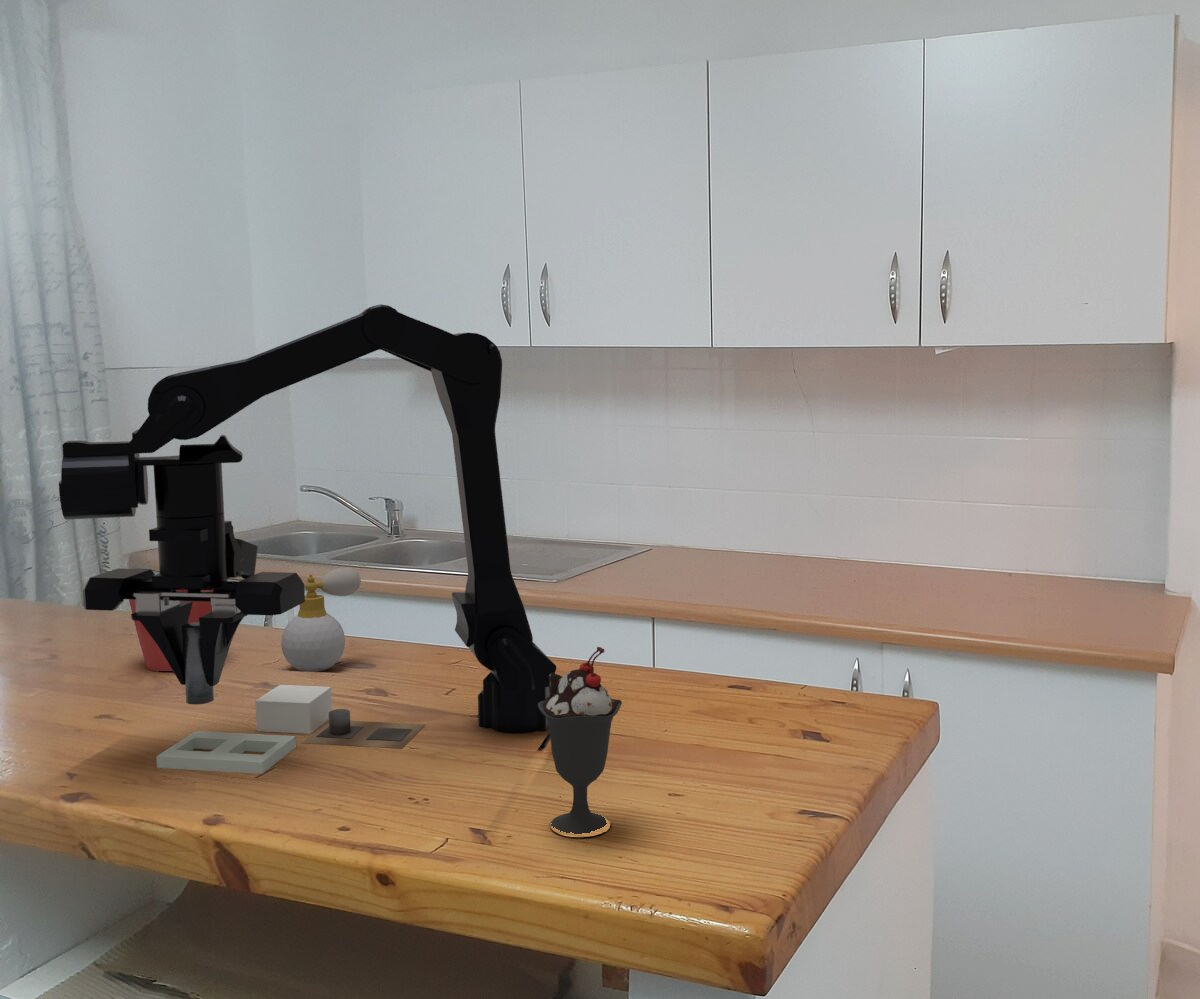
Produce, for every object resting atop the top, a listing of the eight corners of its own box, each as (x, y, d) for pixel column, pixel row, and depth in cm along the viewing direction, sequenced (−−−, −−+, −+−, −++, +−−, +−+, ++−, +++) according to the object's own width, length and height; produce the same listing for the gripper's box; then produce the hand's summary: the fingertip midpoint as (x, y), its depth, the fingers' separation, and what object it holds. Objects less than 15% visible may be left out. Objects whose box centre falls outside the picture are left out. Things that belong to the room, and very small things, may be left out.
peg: (218, 697, 107) (214, 622, 106) (205, 705, 104) (201, 628, 103) (194, 696, 107) (190, 621, 106) (181, 703, 105) (176, 627, 104)
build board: (296, 761, 109) (295, 736, 109) (263, 789, 102) (261, 762, 102) (197, 756, 111) (196, 731, 110) (157, 783, 104) (156, 756, 103)
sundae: (626, 841, 91) (626, 654, 89) (540, 844, 90) (538, 656, 88) (618, 808, 97) (617, 633, 95) (538, 811, 97) (535, 635, 95)
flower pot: (113, 667, 142) (108, 589, 141) (190, 648, 151) (186, 574, 150) (166, 681, 136) (162, 599, 135) (243, 660, 145) (239, 583, 144)
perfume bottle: (268, 673, 139) (264, 574, 137) (323, 654, 148) (319, 561, 146) (317, 681, 136) (313, 580, 134) (370, 661, 144) (367, 566, 143)
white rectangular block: (332, 730, 118) (331, 686, 117) (310, 748, 113) (308, 703, 112) (281, 727, 119) (279, 684, 118) (257, 745, 114) (255, 700, 113)
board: (426, 739, 115) (425, 704, 115) (402, 763, 108) (401, 727, 108) (330, 734, 117) (329, 700, 116) (301, 758, 110) (299, 722, 109)
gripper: (325, 503, 110) (332, 664, 112) (143, 501, 113) (153, 657, 115) (273, 520, 99) (281, 698, 101) (74, 517, 102) (85, 690, 104)
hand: (199, 684), depth 106 cm, fingers closed on peg, 2 cm apart
